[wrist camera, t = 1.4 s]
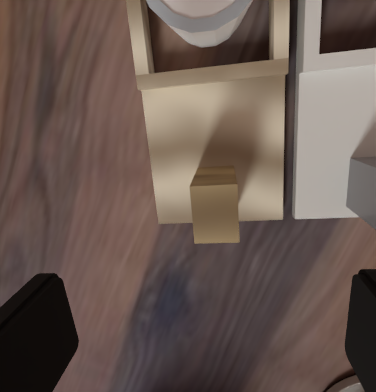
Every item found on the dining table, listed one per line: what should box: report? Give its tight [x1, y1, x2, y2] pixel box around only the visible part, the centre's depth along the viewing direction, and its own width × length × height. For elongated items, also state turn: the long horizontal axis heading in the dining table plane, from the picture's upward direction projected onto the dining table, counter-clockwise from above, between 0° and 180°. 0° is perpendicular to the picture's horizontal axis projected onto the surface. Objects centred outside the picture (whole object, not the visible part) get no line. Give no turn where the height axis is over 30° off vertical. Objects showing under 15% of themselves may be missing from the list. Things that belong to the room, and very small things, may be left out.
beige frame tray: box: [126, 0, 290, 243], centre depth 18 cm, size 22×11×7 cm, turn 5°
